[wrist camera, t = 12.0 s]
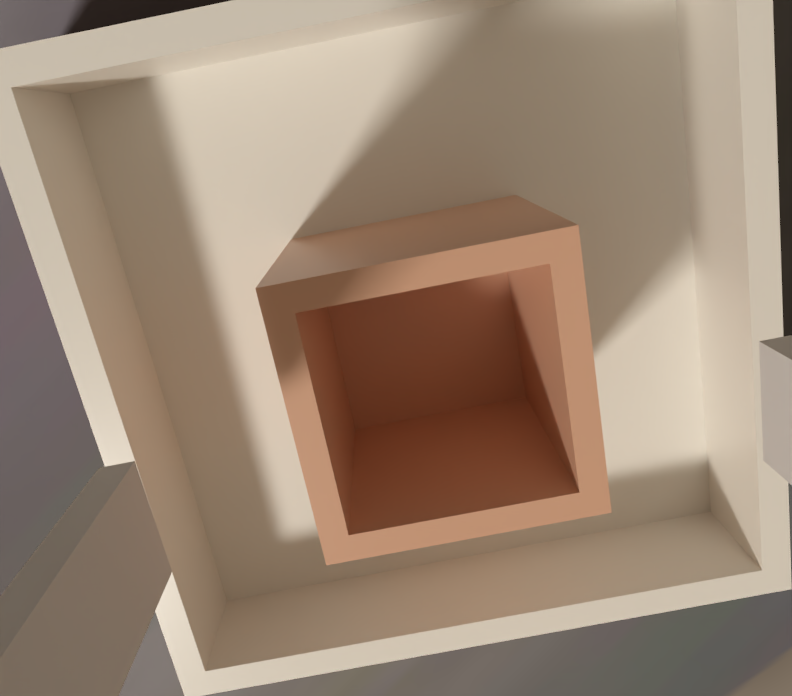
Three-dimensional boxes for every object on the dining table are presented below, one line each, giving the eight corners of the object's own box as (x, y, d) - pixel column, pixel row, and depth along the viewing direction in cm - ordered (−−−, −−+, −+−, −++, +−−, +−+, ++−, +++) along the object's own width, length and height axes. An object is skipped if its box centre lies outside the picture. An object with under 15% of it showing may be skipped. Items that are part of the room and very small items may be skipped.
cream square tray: (43, 70, 24) (-38, 56, 20) (689, -64, 24) (769, -112, 19) (214, 609, 31) (185, 698, 26) (725, 515, 30) (791, 589, 25)
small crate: (291, 239, 25) (255, 288, 18) (515, 194, 25) (578, 225, 17) (339, 443, 28) (326, 565, 20) (545, 404, 27) (611, 512, 20)
